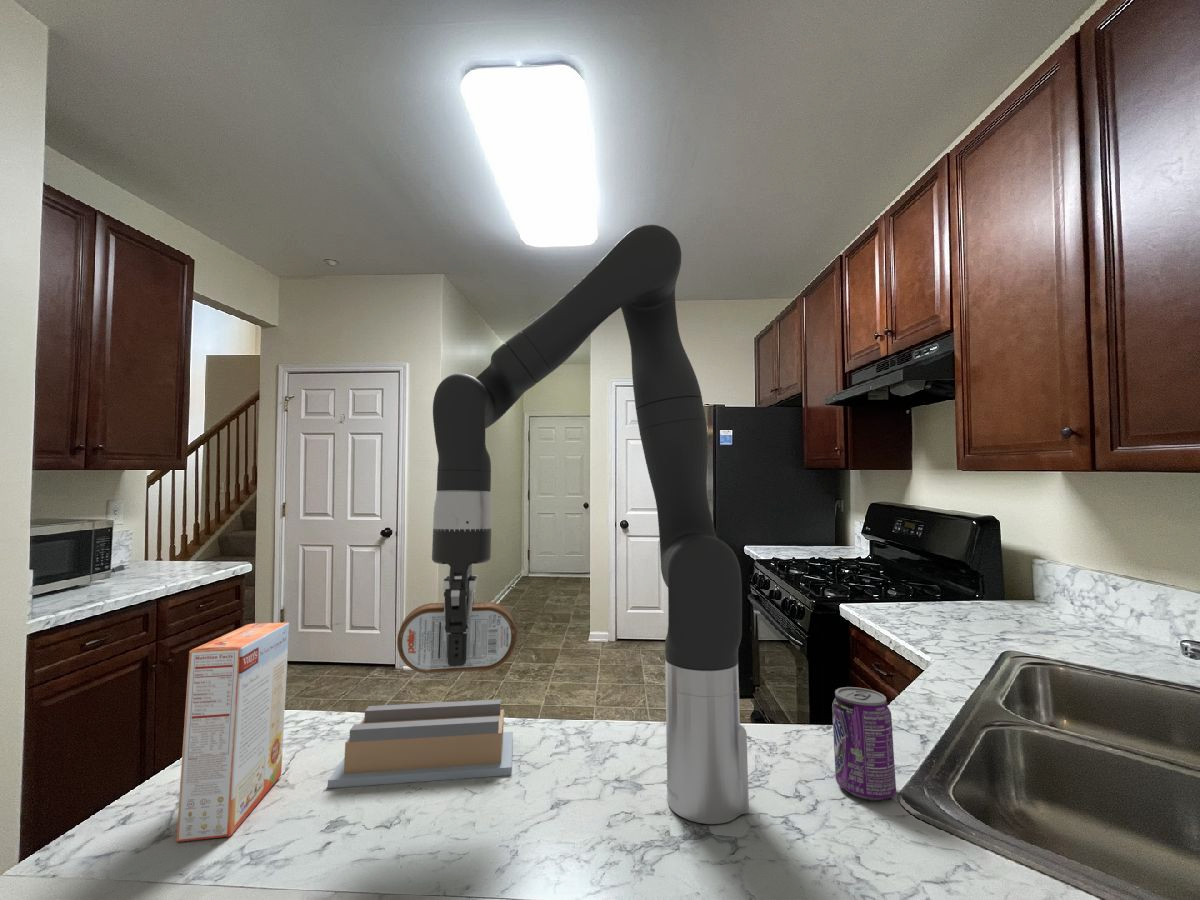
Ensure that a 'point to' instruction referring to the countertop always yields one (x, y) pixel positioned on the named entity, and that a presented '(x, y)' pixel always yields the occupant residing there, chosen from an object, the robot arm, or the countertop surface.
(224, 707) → the cracker box
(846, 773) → the beverage can
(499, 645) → the tin
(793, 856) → the countertop surface
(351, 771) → the grey tan slotted stand
